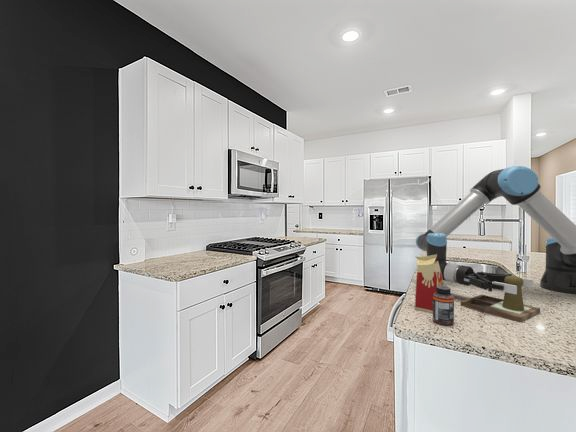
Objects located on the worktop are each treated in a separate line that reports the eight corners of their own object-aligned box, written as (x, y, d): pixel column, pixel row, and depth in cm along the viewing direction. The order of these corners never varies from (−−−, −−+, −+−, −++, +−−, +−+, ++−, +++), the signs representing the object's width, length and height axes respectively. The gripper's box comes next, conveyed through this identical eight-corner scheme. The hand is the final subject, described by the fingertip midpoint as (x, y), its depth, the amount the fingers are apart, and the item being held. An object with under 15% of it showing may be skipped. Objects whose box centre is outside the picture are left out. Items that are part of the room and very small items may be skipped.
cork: (519, 306, 102) (520, 275, 101) (527, 311, 96) (528, 279, 96) (499, 304, 104) (500, 273, 103) (505, 309, 98) (506, 277, 98)
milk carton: (445, 307, 105) (446, 253, 104) (438, 314, 98) (438, 256, 98) (419, 302, 111) (420, 250, 111) (410, 308, 104) (411, 253, 104)
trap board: (481, 298, 116) (481, 294, 116) (540, 312, 100) (540, 307, 100) (460, 305, 107) (460, 301, 107) (521, 322, 91) (521, 317, 91)
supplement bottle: (435, 317, 96) (435, 283, 96) (455, 321, 92) (455, 286, 92) (430, 322, 92) (431, 287, 91) (451, 327, 88) (452, 290, 87)
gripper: (475, 279, 122) (538, 292, 104) (442, 288, 108) (508, 304, 90) (475, 261, 121) (539, 271, 103) (442, 268, 108) (509, 281, 90)
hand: (525, 287), depth 97 cm, fingers open, 13 cm apart
